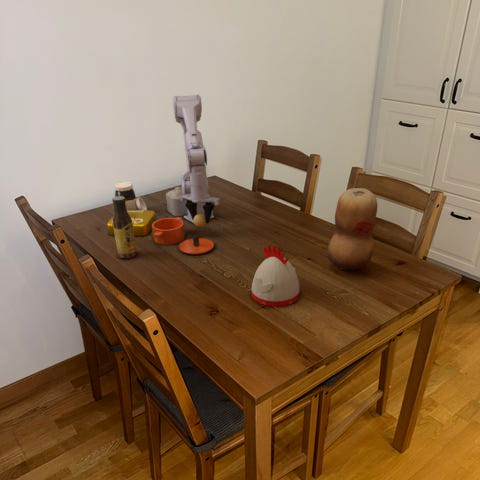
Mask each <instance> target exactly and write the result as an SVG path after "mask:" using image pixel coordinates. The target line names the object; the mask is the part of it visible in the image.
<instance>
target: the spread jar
mask: <svg viewBox="0 0 480 480" xmlns="http://www.w3.org/2000/svg"><path fill="white" fill-rule="evenodd" d="M133 187H134V186H133V183H132V182H130V181H129V182H128V181H122V182H118V183H115V184H114V189H115V190H114V197H117V196H123V197H125V200H126V202H125V204H126V209H127V210H148V207H147V205H146V202H145V200H144V199H143V198H142V196H138V197H137V196H136V191H135V190H134V188H133Z"/></svg>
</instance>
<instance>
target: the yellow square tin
mask: <svg viewBox="0 0 480 480" xmlns="http://www.w3.org/2000/svg"><path fill="white" fill-rule="evenodd" d="M127 212H128V214H129V216H130V218H131V220H132V223H133V231H134V237H145V236H147V235H149V234H150V232H151V231H152V224H153V223H154V222H155V221H157V219H156V213H155V211H154V210H148V209H147V210H139V209H138V210H127ZM106 225H107V229H108V230H107V231H108V234H109V235H110V236H114V237H115V234H114V228H113V216H112V217H111V218H110V219H109V220H108V222H107V223H106Z"/></svg>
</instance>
